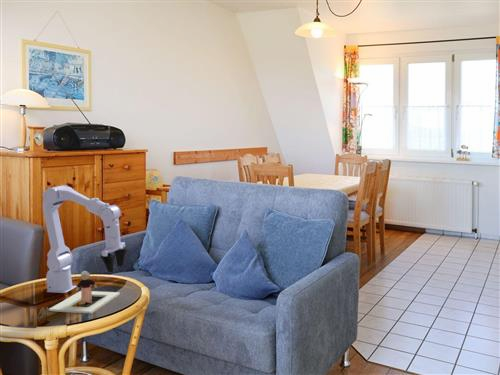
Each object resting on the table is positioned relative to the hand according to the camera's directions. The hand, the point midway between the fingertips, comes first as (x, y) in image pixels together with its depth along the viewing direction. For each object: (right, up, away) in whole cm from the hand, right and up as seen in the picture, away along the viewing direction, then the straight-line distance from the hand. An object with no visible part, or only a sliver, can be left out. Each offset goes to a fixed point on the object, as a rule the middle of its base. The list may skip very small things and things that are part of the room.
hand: (115, 268), depth 199 cm
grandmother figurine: (-8, -12, -8) cm, 17 cm away
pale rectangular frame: (-8, -12, -8) cm, 17 cm away
